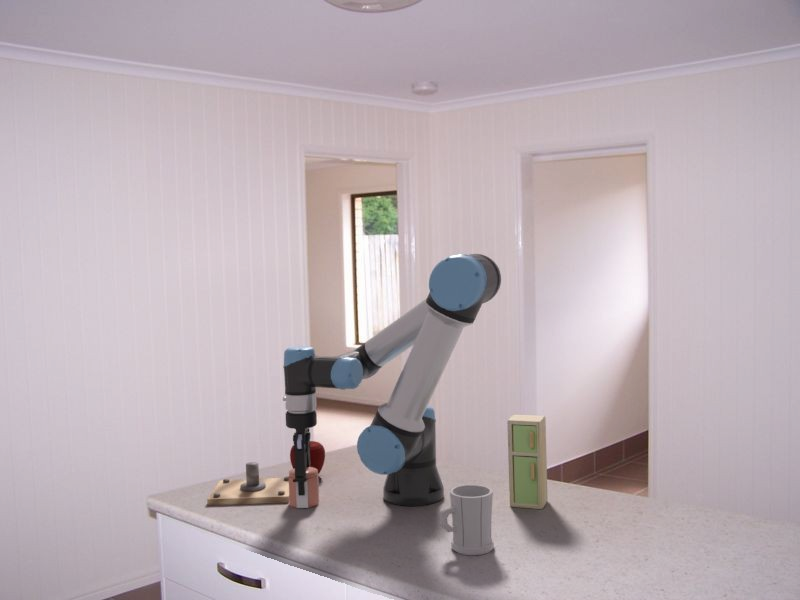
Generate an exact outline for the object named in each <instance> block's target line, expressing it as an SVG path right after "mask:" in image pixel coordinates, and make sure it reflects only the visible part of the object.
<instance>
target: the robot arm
mask: <svg viewBox="0 0 800 600" xmlns="http://www.w3.org/2000/svg"><path fill="white" fill-rule="evenodd" d="M501 285H502V274H501V271H500V268H499V266H498V264H497V263H496V262H495V260H493V259H492V258H490V257H489V256H487V255H485V254H481V253H480V254H479V253H471V254H466V253H465V254H463V253H458V254H453V255H449V256H448V257H446V258H444V259H442V260H440V261H439V262H438V263H437V264H436V265H435V266H434V267H433V269H432V271H431V273H430V276H429V279H428V288H429V293H428V295H427V297H426V298H425V299H423V300H422V301H421V302H419V303H418V304H416V305H415V306H414V307H412V308H411V309H410V310H408V311H407V312H405V313H404V314H403V315H401V316H400V317H398V318H397V319H396V320H394V321H393V322H392V323H390V324H389V325H387V326H386V327H384V328H383V329H381V330H380V331H379V332H378V333H376V334H375V335H374V336H372V337H370V338H369V339H368V340H367V341H365V342H364V343H362V344H361V345H360V346H358V347H357V348H356V349H354V350H353V351H349V352H346V353H342V354H339V355H336V356H335V355H334V356H320V355H316V352H315V349H314V347H312V346H307V345H306V346H303V345H302V346H291V347H288V348H286V349H285V350H284V353H283V373H284V393H285V394H284V395H285V396H284V397H282V401H283V402H285V405H284V406H285V410H286V411H285V426H286V427H287V428H288V429H294V430H295V432H293V433H294V434H293V436H292V442H293V445H294V452H295V479H293V482H296V501H297V508H296V509H305V508H306V509H308V484H307V478H306V467H312V468H313V466H310V464H311V462H310V441H311V435H312V434H311V432H310V429H311V428H314V427H315V426H317V423H318V419H317V411H316V409H317V390H316V389H317V388H322V389H323V388H324V389H336V390H339V389H340V390H341V391H342V390H354V389H357V388H358V387H359V386H360V384H361V383H362V381H363V380H366V379H369V378H371V377H373V376H374V375H376V374H377V373H378V372H379V370H380V369H381V368H383V367H384V366H386V365H387V364H388V363H390V362H392V361H393V360H394V359H396V358H397V357H399V356H400V355H401V354H403V353H404V352H406V351H407V350H408V349H411V350H410V352H409V354H408V357H407V359H406V361H405V364H404V366H403V368H402V370H401V372H400V375H399V377H398V379H397V381H396V384H395V385H394V388H393V390H392V392H391V395H390V397H389V399H388V401H387V402H385V403H381V404H380V405H379V406H378V408H377V410H376V412H375V414H374V416H373V419H372V421H371V423H370V425H368V426H367V427H365V428H364V429H363V430H362V431H361V433H360V435H359V436H358V438H357V443H356V449H357V455H359V458H360V461H361V462H362V464H363V465H364V466H365V467H366V468H367V469H368V470H369V471H370V472H372V473H375V474H377V475H385V476H386V478H385V481H384V484H383V488H382V489H383V491H382V492H383V495H382V497H383V499H384V501H386V502H387V503H390V504H393V505H397V506H398V505H399V506H406V507H407V506H410V507H414V506H415V507H416V506H427V505H430V504H431V505H432V504H434V503H437V502H440V501H441V500H442V499H443V498H444V497H445V489H444V488H445V487H444V483H443V481H442V479H441V476H440V472H439V470H438V467H437V443H436V441H437V440H436V439H437V438H436V436H437V434H436V422H437V420H436V415H435V414H436V413H435V409H434V408H433V407H432V406H429V404H430V402H431V399H432V397H433V395H434V393H435V391H436V388H437V386H438V384H439V382H440V380H441V377H442V375H443V373H444V372H445V369H446V366H447V364H448V362H449V361H450V358H451V355H452V354H453V351H454V349H455V347H456V345H457V342H458V341H459V339H460V337H461V334H462V332H463V329H464V328H465V327H468V326H471V325H473V324H474V322H475V320H476V318H477V316H478V314H479V312H480V309H481V308H482V305H483V304H485V303H487V302H489V301H491V300H492V299H493V298H494V297H495V296H496V295H497V294H498V292H499V290H500V288H501Z"/></svg>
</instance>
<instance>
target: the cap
mask: <svg viewBox="0 0 800 600" xmlns="http://www.w3.org/2000/svg"><path fill="white" fill-rule="evenodd" d="M288 477H289V506H290V507H294V508H295V509H298V508H297V501H296V482H293V479H295V469H293V468H292V469H290V470H288ZM306 478H307V484H308V508H312V507H315V506H318V505H319V504H320V486H319V485H320V484H319V481H320V480H319V474H318V470H317V469H316V468H312V467H306ZM308 508H307V509H308Z"/></svg>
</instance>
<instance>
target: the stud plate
mask: <svg viewBox="0 0 800 600" xmlns="http://www.w3.org/2000/svg"><path fill="white" fill-rule="evenodd" d="M259 468H260V467H259V462H257V461H251V462H247V463H245V476H246V478H243V479H241V478H240V479H238V478H237V479H229V478H225V479H220V480H219V481H218V482H217V485H216V486H214V488H213V490H212V492H211V493H210V494H209V496H208V498H207V501H206V502H207V506H222V505H225V506H226V505H250V504H254V505H255V504H277V503H278V504H279V503H281V504H282V503H283V504H284V503H290V501H289V476H284V477H271V478H268V477H267V478H260V471H259Z"/></svg>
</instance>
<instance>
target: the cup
mask: <svg viewBox="0 0 800 600" xmlns="http://www.w3.org/2000/svg"><path fill="white" fill-rule="evenodd" d="M493 491H494V489H492V488H490V487H489V486H486V485H480V484H462V485H456V486H454V487H452V488H451V489H449V498H450V504H449V505H447V506H444V507H441V509H440V511H439V519H440V527H441V528H442V529H443V530H444V531H445V532H447V533H452V538H451V539H450V541H451V542H450V545H451V546H450V547H451V549H452V551H454V552H456V553H458V554H460V555H464V556H482V555H485V554H488V553H490V552H492V550H493V549H494V547H495V545H494V539H493V538H492V518H493V515H492V514H493V510H492V509H493V496H494V495H493V494H494V492H493ZM449 515H451V517H452V520H451V521H452V524H451V525H450V524H449V523H448V517H449Z"/></svg>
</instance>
